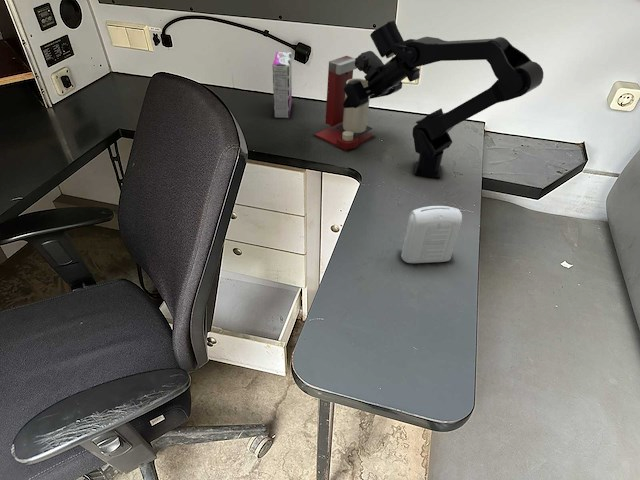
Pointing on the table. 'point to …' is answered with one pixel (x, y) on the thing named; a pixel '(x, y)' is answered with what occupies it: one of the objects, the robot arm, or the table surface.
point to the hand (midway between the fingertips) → (355, 101)
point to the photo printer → (431, 234)
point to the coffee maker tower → (339, 90)
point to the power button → (347, 136)
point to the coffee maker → (335, 137)
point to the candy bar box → (282, 84)
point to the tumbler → (356, 113)
